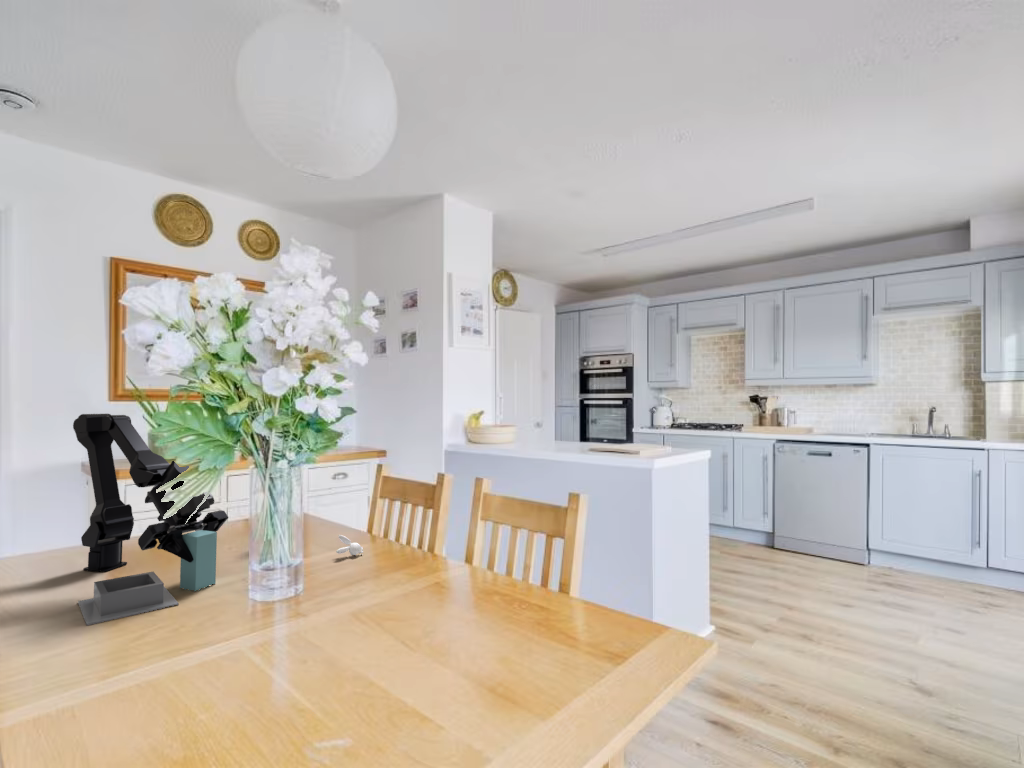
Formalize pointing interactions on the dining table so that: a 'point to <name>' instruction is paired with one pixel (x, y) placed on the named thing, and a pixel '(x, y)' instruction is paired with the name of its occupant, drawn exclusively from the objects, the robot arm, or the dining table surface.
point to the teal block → (199, 560)
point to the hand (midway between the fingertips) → (202, 557)
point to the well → (125, 598)
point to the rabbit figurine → (353, 547)
